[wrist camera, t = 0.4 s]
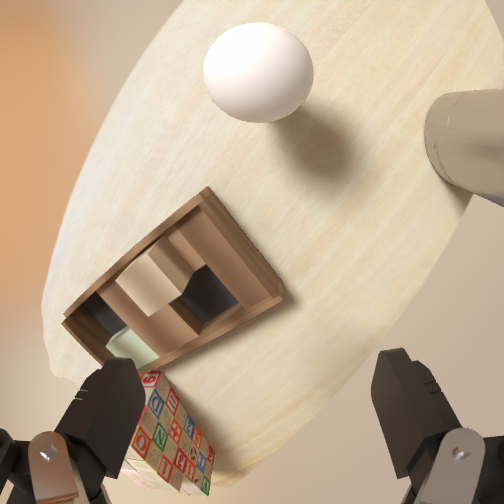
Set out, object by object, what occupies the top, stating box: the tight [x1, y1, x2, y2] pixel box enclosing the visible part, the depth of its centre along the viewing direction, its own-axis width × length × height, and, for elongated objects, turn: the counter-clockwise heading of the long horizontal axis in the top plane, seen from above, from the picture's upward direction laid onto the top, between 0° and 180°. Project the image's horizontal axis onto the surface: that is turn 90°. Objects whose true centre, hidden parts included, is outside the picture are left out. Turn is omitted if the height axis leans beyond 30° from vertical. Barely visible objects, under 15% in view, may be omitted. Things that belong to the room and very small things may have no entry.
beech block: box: [115, 235, 194, 317], centre depth 24 cm, size 4×4×4 cm
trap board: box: [61, 186, 283, 376], centre depth 28 cm, size 21×11×4 cm, turn 127°
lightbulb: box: [203, 22, 314, 123], centre depth 17 cm, size 6×6×11 cm
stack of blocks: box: [121, 372, 215, 496], centre depth 33 cm, size 21×6×12 cm, turn 15°
